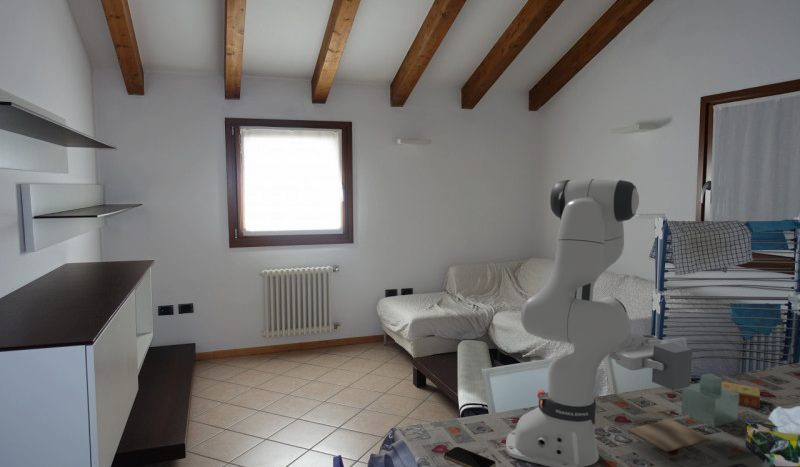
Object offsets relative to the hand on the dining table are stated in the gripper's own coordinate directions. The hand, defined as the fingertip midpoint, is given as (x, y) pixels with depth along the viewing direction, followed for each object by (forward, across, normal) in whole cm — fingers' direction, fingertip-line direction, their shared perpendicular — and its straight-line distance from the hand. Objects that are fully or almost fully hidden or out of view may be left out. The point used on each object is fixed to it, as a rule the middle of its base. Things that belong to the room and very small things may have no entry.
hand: (674, 365), depth 137 cm
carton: (-10, +40, +21) cm, 46 cm away
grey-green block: (-4, +21, +20) cm, 29 cm away
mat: (-1, 0, +20) cm, 20 cm away
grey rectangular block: (-1, 0, +6) cm, 6 cm away
